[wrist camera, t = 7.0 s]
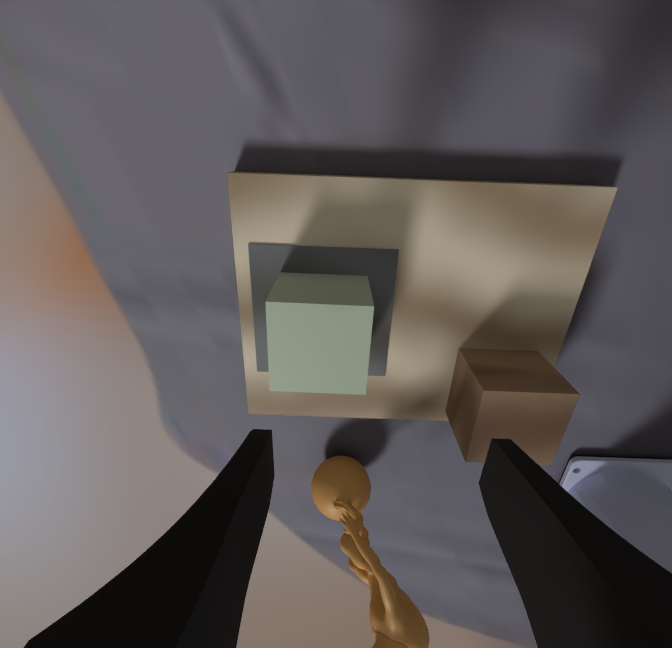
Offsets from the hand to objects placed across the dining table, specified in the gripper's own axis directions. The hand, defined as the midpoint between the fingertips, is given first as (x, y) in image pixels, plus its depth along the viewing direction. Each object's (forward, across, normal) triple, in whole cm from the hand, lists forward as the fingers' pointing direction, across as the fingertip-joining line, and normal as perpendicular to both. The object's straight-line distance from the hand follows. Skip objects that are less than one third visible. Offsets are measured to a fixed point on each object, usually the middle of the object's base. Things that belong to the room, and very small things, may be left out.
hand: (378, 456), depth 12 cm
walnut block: (+9, -8, +3) cm, 12 cm away
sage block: (+9, +2, -1) cm, 9 cm away
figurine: (+10, 0, +11) cm, 15 cm away
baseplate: (+10, -2, -1) cm, 10 cm away
